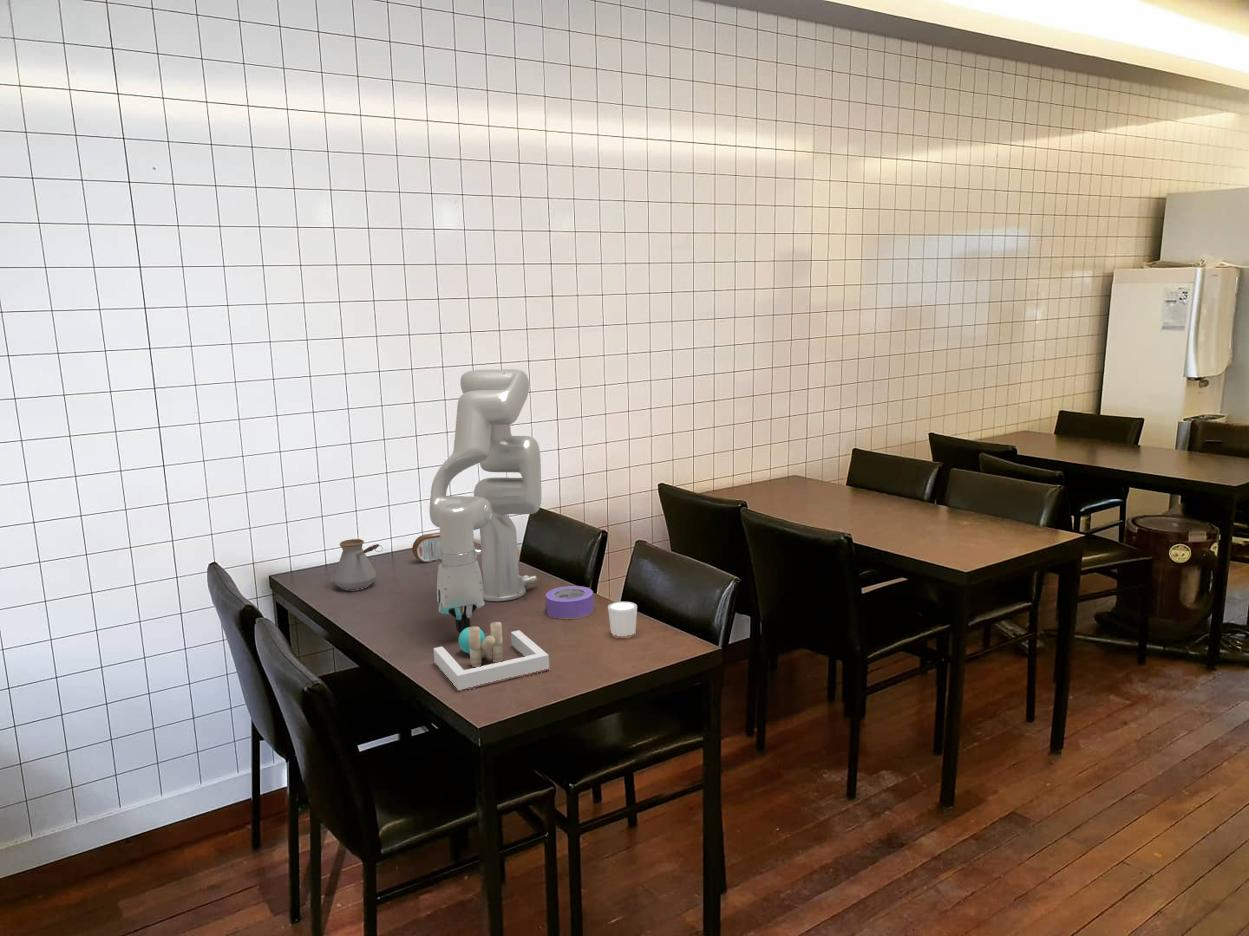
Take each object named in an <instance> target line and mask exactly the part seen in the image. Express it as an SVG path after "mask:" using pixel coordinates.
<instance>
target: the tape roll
mask: <svg viewBox="0 0 1249 936" xmlns="http://www.w3.org/2000/svg"><path fill="white" fill-rule="evenodd" d="M545 601H546V602H545V604H546V614H547V616H548V615H550V616H552V617H556V618H576V617H582V616H585V615H587V614H589V613H591V612H592V611H593V610H595V608H594V606H595V605H594V591H593V590H592V589H591V588H589V587H587V586H586V587H585V586H582V585H581V586H580V585H568V586H560V587H556V588H554V589H553V588H552V589H551V590H549V591H547V592H546V594H545ZM550 616H549V617H550ZM552 617H551V618H552Z"/></svg>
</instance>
